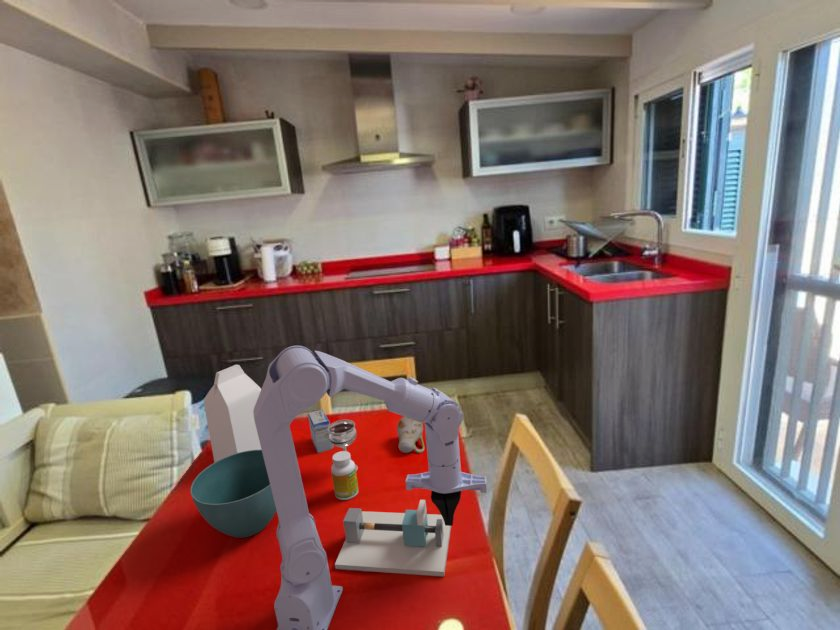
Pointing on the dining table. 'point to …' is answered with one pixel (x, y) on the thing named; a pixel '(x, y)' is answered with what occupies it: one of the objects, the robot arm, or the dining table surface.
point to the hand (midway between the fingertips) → (449, 521)
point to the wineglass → (342, 434)
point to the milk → (232, 413)
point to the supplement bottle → (344, 476)
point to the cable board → (391, 544)
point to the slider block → (415, 526)
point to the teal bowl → (235, 494)
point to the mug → (409, 434)
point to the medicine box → (320, 431)
